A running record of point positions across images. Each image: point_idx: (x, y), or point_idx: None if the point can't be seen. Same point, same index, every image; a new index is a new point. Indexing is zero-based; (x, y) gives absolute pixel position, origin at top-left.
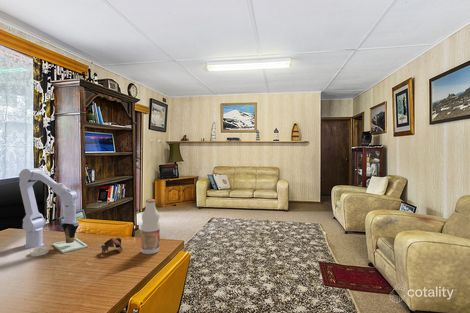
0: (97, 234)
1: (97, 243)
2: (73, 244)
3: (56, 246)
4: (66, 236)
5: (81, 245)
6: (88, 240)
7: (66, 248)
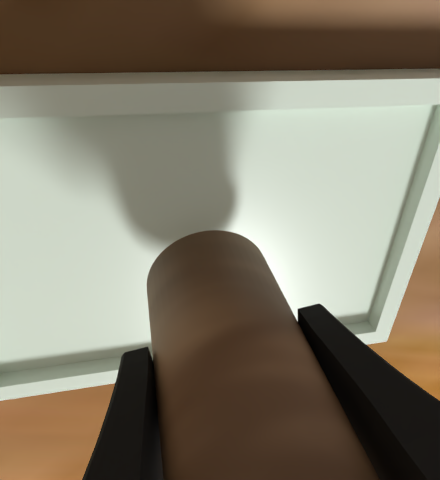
0: None
1: None
2: None
3: (266, 81)
4: (208, 325)
5: (89, 346)
6: None
7: (87, 188)
